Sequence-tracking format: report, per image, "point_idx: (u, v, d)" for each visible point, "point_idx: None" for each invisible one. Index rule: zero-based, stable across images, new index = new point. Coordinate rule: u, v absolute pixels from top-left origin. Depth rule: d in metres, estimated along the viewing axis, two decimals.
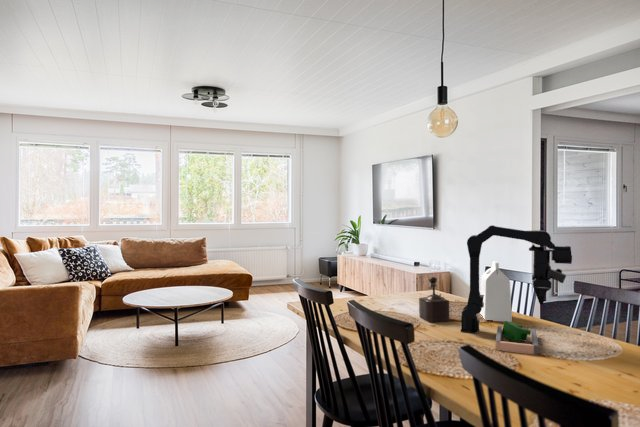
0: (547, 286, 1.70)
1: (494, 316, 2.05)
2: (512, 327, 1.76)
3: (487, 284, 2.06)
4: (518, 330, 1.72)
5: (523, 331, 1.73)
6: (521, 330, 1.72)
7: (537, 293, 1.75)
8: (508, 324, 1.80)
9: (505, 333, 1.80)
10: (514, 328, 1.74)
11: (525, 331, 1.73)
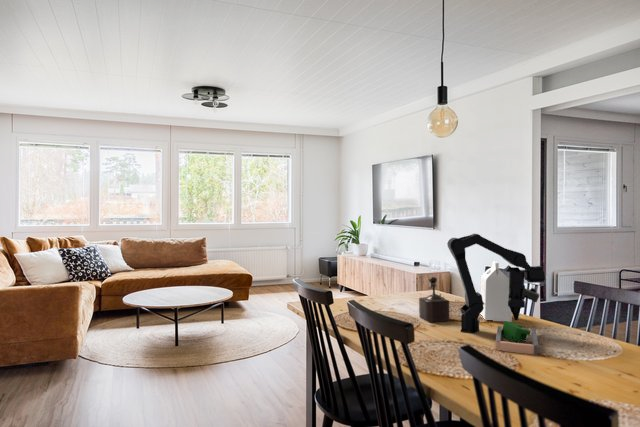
0: (521, 306, 1.79)
1: (494, 316, 2.05)
2: (512, 327, 1.76)
3: (487, 284, 2.06)
4: (518, 330, 1.72)
5: (523, 331, 1.72)
6: (521, 330, 1.72)
7: (512, 310, 1.87)
8: (508, 324, 1.80)
9: (505, 333, 1.80)
10: (514, 328, 1.74)
11: (525, 331, 1.72)
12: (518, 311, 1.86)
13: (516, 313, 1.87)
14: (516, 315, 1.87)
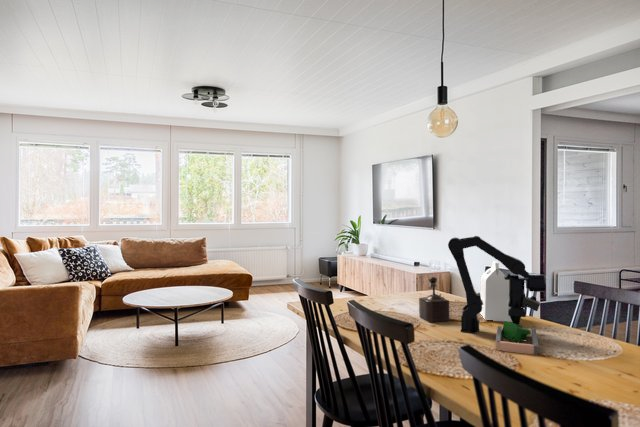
0: (521, 315, 1.75)
1: (494, 316, 2.05)
2: (512, 327, 1.75)
3: (487, 284, 2.06)
4: (518, 330, 1.72)
5: (523, 331, 1.72)
6: (521, 330, 1.72)
7: (512, 318, 1.84)
8: (508, 324, 1.79)
9: (505, 333, 1.80)
10: (514, 328, 1.74)
11: (525, 331, 1.72)
12: (518, 320, 1.83)
13: (516, 322, 1.83)
14: None
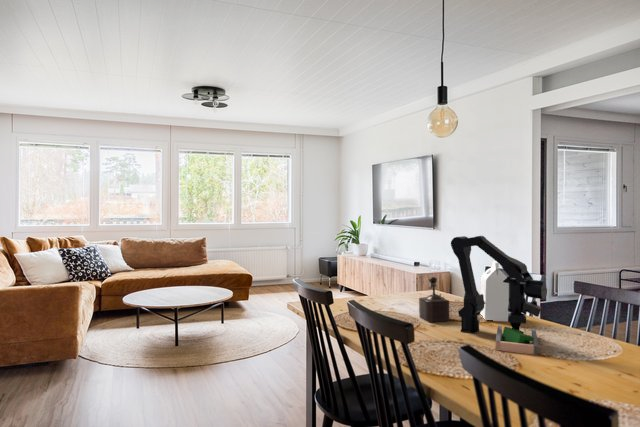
0: (522, 322, 1.67)
1: (494, 316, 2.05)
2: (514, 333, 1.67)
3: (487, 284, 2.06)
4: (521, 337, 1.63)
5: (526, 338, 1.64)
6: (524, 337, 1.64)
7: (512, 324, 1.75)
8: (509, 330, 1.71)
9: (506, 339, 1.71)
10: (516, 334, 1.65)
11: (528, 338, 1.64)
12: (518, 325, 1.75)
13: (516, 327, 1.75)
14: None
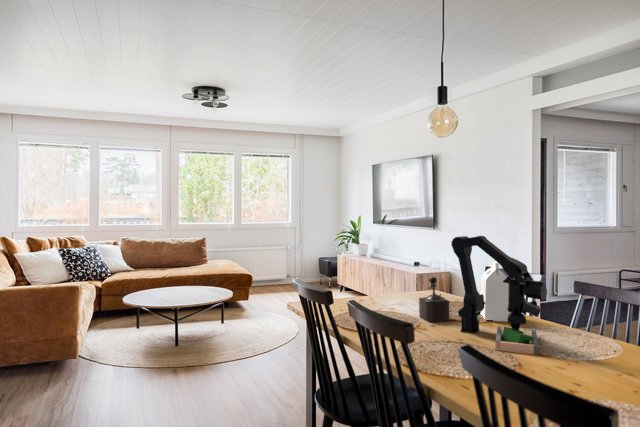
0: (521, 322, 1.67)
1: (494, 316, 2.05)
2: (514, 333, 1.67)
3: (487, 284, 2.06)
4: (521, 337, 1.63)
5: (526, 338, 1.64)
6: (524, 337, 1.64)
7: (512, 324, 1.75)
8: (509, 330, 1.71)
9: (506, 339, 1.71)
10: (516, 334, 1.65)
11: (528, 337, 1.64)
12: (518, 325, 1.75)
13: (516, 327, 1.75)
14: None
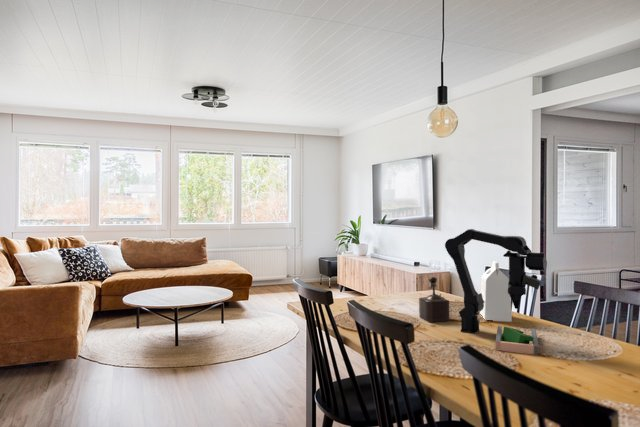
0: (521, 293, 1.69)
1: (494, 316, 2.05)
2: (514, 333, 1.67)
3: (487, 284, 2.06)
4: (521, 337, 1.63)
5: (526, 338, 1.64)
6: (524, 337, 1.64)
7: (512, 298, 1.77)
8: (509, 330, 1.71)
9: (506, 339, 1.71)
10: (516, 334, 1.65)
11: (528, 337, 1.64)
12: (519, 299, 1.76)
13: (516, 301, 1.77)
14: (516, 303, 1.77)
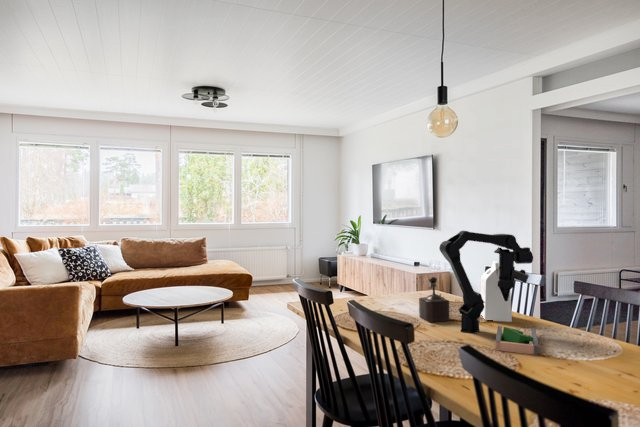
0: (510, 286, 1.82)
1: (494, 316, 2.05)
2: (514, 334, 1.67)
3: (487, 284, 2.06)
4: (521, 337, 1.63)
5: (526, 338, 1.64)
6: (524, 337, 1.64)
7: (502, 291, 1.90)
8: (509, 330, 1.71)
9: (506, 340, 1.71)
10: (516, 335, 1.65)
11: (528, 338, 1.64)
12: (508, 292, 1.90)
13: (506, 294, 1.90)
14: (506, 296, 1.90)
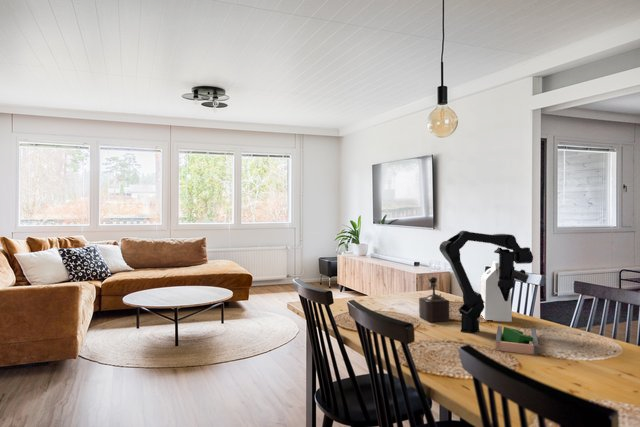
0: (510, 286, 1.82)
1: (494, 316, 2.05)
2: (514, 334, 1.67)
3: (487, 284, 2.06)
4: (521, 337, 1.63)
5: (526, 338, 1.64)
6: (524, 337, 1.64)
7: (502, 291, 1.90)
8: (508, 330, 1.71)
9: (506, 339, 1.71)
10: (516, 335, 1.65)
11: (528, 338, 1.64)
12: (508, 292, 1.90)
13: (506, 294, 1.90)
14: (506, 296, 1.90)
